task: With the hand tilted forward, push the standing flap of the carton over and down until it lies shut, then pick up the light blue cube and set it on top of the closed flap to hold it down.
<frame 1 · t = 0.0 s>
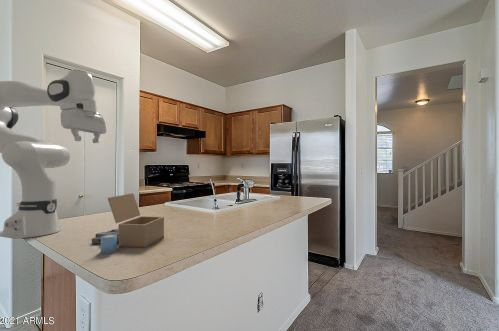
hand: (87, 142, 105), 39 cm above the countertop, tool pointing down, fingers open, 8 cm apart
toy gun: (115, 237, 103), on the countertop
carton: (142, 241, 96), on the countertop
light blue cube: (108, 251, 84), on the countertop
flap: (125, 207, 97), point 13 cm above the countertop, hinge at 110.0°
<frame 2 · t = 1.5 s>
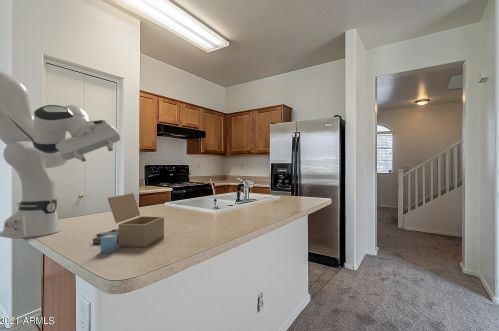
hand: (97, 154, 90), 33 cm above the countertop, tool tilted 50°, fingers open, 8 cm apart
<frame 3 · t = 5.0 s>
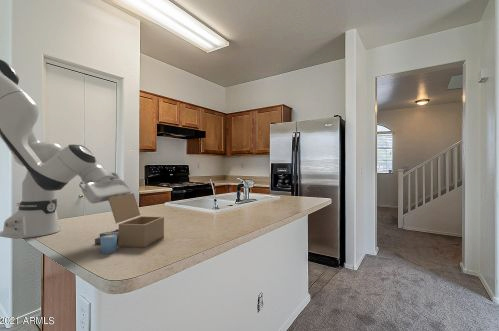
hand: (121, 206, 97), 13 cm above the countertop, tool tilted 45°, fingers closed, pressing on flap
toy gun: (119, 237, 103), on the countertop
flap: (125, 207, 97), point 13 cm above the countertop, hinge at 108.8°, touching gripper
everything else where it was.
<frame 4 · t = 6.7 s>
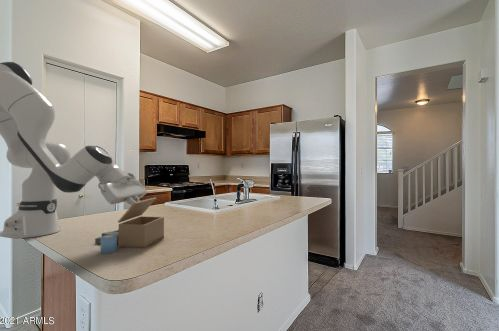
hand: (139, 206, 96), 13 cm above the countertop, tool tilted 45°, fingers closed, pressing on flap
flap: (138, 209, 96), point 12 cm above the countertop, hinge at 47.0°, touching gripper
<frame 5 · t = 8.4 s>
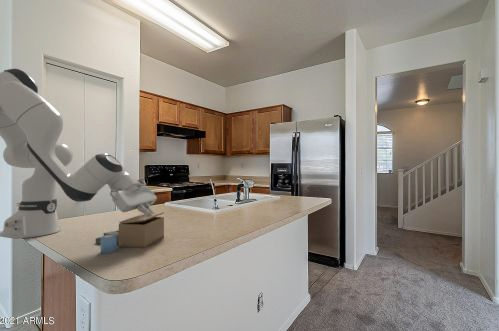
hand: (150, 214, 95), 10 cm above the countertop, tool tilted 45°, fingers closed, pressing on flap
flap: (143, 217, 96), point 9 cm above the countertop, hinge at 7.0°, touching gripper
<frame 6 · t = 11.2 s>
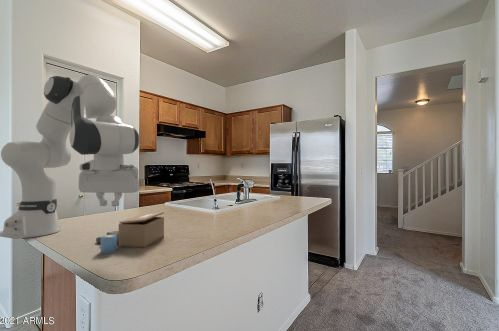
hand: (109, 206, 85), 15 cm above the countertop, tool pointing down, fingers open, 3 cm apart
flap: (143, 217, 96), point 9 cm above the countertop, hinge at 6.9°
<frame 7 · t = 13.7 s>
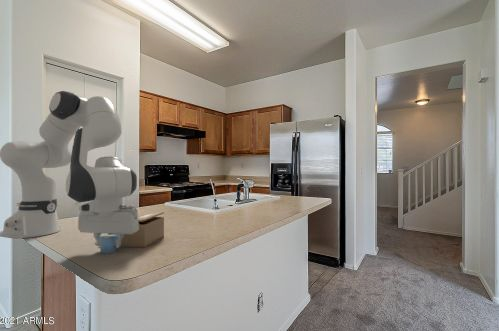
hand: (108, 246, 84), 2 cm above the countertop, tool pointing down, fingers closed on light blue cube, 5 cm apart
light blue cube: (108, 251, 84), on the countertop, touching gripper
when the fingers open (12 cm above the countertop, at t = 17.3 s): light blue cube stays where it is, resting on flap.
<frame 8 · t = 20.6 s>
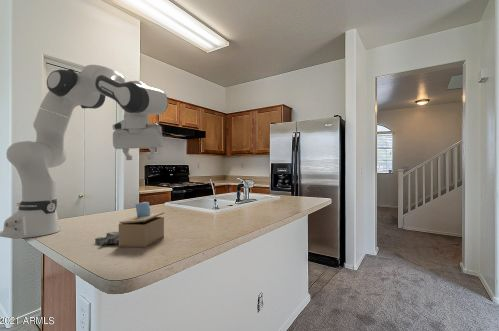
hand: (139, 159, 100), 31 cm above the countertop, tool pointing down, fingers open, 8 cm apart
light blue cube: (144, 215, 97), point 9 cm above the countertop, tilted 9°, touching flap
flap: (143, 217, 96), point 9 cm above the countertop, hinge at 6.3°, touching light blue cube
at the end: flap at +6° (first picture: +110°); light blue cube inside the target area on the carton (1.0 cm from its centre), point 9.5 cm above the carton's base; the gripper is holding nothing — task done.
